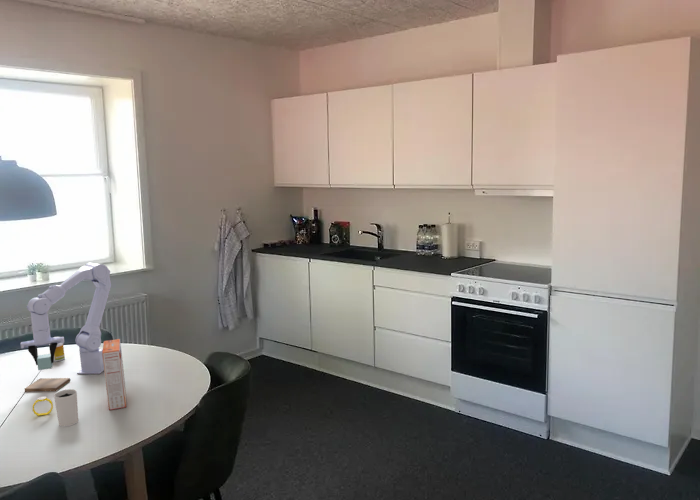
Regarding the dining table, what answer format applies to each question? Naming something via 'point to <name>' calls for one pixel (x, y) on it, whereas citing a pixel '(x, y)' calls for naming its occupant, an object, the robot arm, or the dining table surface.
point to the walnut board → (47, 384)
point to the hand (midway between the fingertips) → (45, 363)
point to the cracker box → (114, 374)
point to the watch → (40, 401)
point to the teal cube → (44, 362)
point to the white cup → (66, 407)
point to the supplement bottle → (59, 352)
